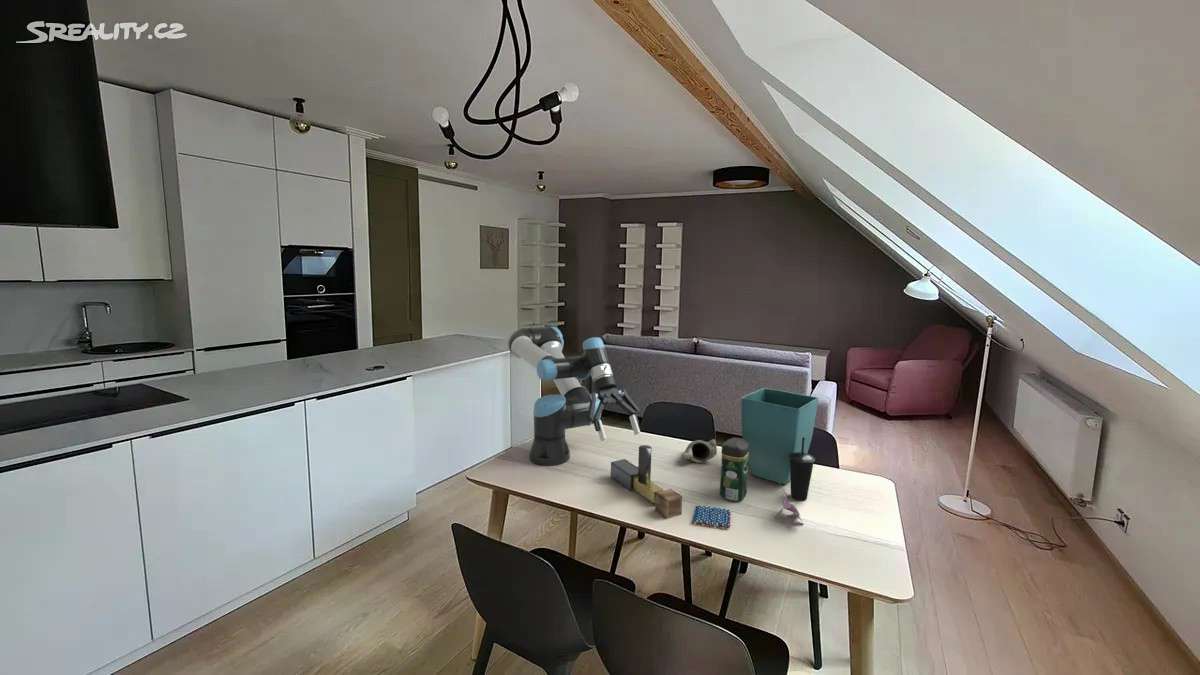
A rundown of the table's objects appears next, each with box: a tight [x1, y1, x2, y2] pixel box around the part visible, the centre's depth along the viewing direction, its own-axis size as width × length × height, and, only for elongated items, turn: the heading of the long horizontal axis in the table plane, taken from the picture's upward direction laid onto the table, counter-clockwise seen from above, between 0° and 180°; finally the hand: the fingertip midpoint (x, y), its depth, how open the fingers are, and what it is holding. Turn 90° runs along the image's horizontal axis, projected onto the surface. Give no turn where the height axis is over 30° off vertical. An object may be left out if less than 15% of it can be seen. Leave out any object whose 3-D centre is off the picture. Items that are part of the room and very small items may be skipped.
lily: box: [774, 483, 804, 525], centre depth 150 cm, size 12×12×10 cm
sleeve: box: [610, 458, 638, 493], centre depth 172 cm, size 12×6×6 cm, turn 30°
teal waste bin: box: [740, 387, 819, 485], centre depth 179 cm, size 20×20×28 cm
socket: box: [654, 488, 683, 520], centre depth 153 cm, size 6×6×6 cm
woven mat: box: [691, 504, 732, 531], centre depth 150 cm, size 10×11×2 cm
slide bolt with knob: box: [631, 444, 665, 504], centre depth 166 cm, size 23×4×15 cm, turn 30°
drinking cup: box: [789, 437, 816, 502], centre depth 163 cm, size 8×8×20 cm
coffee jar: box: [719, 437, 749, 502], centre depth 163 cm, size 10×8×19 cm
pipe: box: [680, 438, 718, 464], centre depth 194 cm, size 16×9×15 cm
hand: (620, 436), depth 173 cm, fingers open, 13 cm apart
